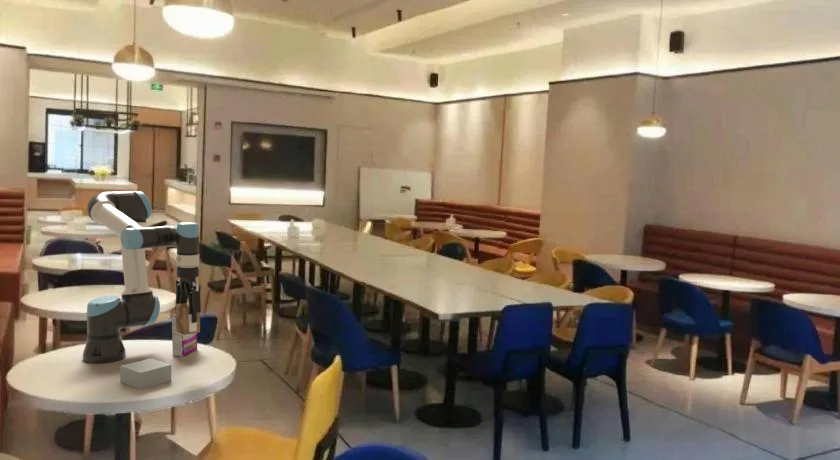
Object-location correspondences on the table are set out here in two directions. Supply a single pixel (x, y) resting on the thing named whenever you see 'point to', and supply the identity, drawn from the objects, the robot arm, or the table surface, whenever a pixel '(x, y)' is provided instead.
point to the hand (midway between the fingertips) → (188, 329)
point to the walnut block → (185, 319)
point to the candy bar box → (182, 341)
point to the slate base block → (145, 373)
